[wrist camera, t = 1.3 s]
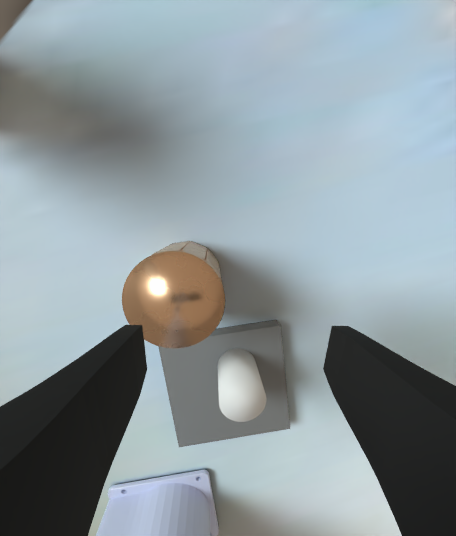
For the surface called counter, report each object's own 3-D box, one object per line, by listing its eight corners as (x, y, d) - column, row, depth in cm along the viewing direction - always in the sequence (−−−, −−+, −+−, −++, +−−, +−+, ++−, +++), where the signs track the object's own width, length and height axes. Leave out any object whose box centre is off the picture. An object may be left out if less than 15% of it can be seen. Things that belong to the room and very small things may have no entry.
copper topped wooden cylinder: (159, 311, 20) (133, 355, 13) (146, 246, 19) (111, 259, 12) (224, 302, 20) (230, 340, 14) (215, 236, 19) (217, 244, 12)
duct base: (180, 435, 22) (171, 498, 17) (161, 337, 20) (144, 375, 15) (286, 417, 23) (307, 474, 17) (276, 319, 21) (298, 351, 16)
